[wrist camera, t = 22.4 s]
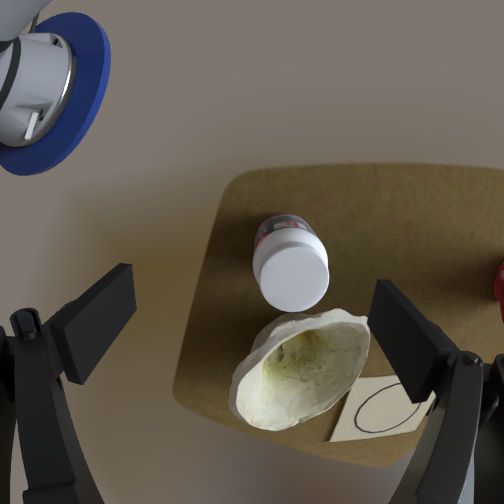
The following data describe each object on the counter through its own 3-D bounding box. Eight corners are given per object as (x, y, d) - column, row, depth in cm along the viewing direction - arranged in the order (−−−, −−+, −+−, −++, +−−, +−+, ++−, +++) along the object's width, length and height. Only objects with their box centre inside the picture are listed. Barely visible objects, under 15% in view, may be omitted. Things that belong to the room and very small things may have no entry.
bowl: (332, 392, 34) (347, 450, 24) (226, 375, 33) (215, 437, 24) (379, 291, 29) (419, 340, 20) (254, 263, 29) (251, 310, 19)
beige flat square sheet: (353, 377, 33) (354, 379, 32) (448, 368, 33) (448, 369, 32) (329, 440, 37) (329, 442, 36) (414, 429, 37) (415, 430, 36)
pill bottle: (252, 214, 28) (247, 240, 18) (311, 210, 27) (337, 233, 18) (257, 271, 29) (254, 321, 20) (313, 267, 29) (336, 314, 19)
